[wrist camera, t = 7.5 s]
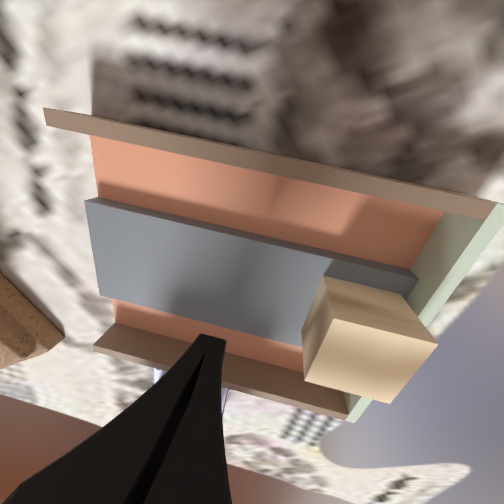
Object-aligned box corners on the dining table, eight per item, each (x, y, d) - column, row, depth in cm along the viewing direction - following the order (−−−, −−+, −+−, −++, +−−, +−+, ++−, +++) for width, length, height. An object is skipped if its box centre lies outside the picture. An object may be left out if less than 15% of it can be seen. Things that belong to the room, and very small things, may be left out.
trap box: (346, 387, 21) (354, 423, 18) (118, 326, 22) (94, 351, 19) (467, 194, 12) (516, 207, 10) (91, 115, 14) (42, 107, 11)
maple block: (367, 347, 16) (389, 403, 13) (301, 330, 17) (304, 380, 13) (400, 293, 14) (438, 344, 10) (322, 275, 14) (333, 318, 11)
